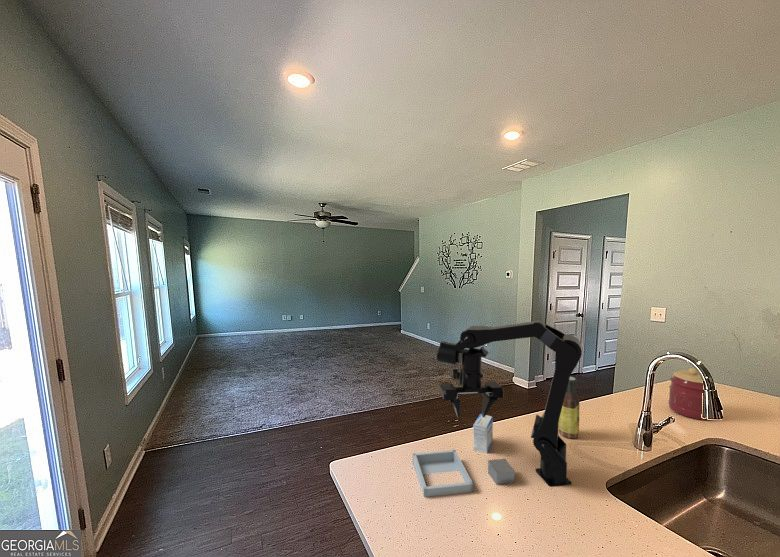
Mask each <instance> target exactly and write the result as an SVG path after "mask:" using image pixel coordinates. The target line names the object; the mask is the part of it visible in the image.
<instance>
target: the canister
mask: <svg viewBox="0 0 780 557" xmlns="http://www.w3.org/2000/svg"><path fill="white" fill-rule="evenodd" d="M696 369H697V368H695V367H690V368H689V369H681V370H680V369H679V370H678V371H674V372H673V373H672V376H670V377H669V380H670V381H671V384H670V385H669V387H668V388H669V398H668V407H669V409H671V411H673V412H675V413H677V414H680V415H682V416H684V417H688V418H693V419H697V420H703V421H706V420H705V419H702V418H701V414H702V393H703V383H702V380H701V377H700V374H699V373H700V372H699V371H698V370H697V371H698V372H699V373H698V372H697V371H696ZM713 381H714V379H713ZM716 390H717V386H716Z"/></svg>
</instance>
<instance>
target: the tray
mask: <svg viewBox="0 0 780 557" xmlns="http://www.w3.org/2000/svg"><path fill="white" fill-rule="evenodd" d="M412 465H413V469H414V471H415V474H416V477H417V481H418V483H419V486H420V489H421V492H422V496H423V497H424V498H428V497H437V496H445V495H447V496H448V495H455V494H457V495H458V494H464V493H473V492H474V488H475V486H474V484H475V483H474V482H473V480H472V478H471V476H470V475H469V473H468V471H467V469H466V468H465V465H464V463H463V462H462V460H461V458H460V456H459V455H458V453H457V450H456V449H452V450H451V449H450V450H448V449H447V450H440V451H439V450H438V451H437V450H436V451H428V452H427V451H426V452H417V453H416V452H415V453H412ZM451 472H452V473H453V472H459V474H460V475H461V478H462V479H463V482H459V483H449V484H440V485H429V486H427V485H426V482H425V478H424V475H432V474H440V473H451Z"/></svg>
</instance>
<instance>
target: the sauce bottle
mask: <svg viewBox="0 0 780 557" xmlns="http://www.w3.org/2000/svg"><path fill="white" fill-rule="evenodd" d="M576 383H577V379H576V378H575V377H573V376H570V379H569V383H568V386H567V390H566V394H565V398H564V402H563V406H562V410H561V414H560V418H559V424H558V434H560V435H561V436H563V437H564V436H565V437H564V438H568V439H573V438H574V439H577V438H578V437H579V433H580V400H579V397H578V394H577V391H576Z"/></svg>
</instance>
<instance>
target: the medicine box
mask: <svg viewBox="0 0 780 557" xmlns="http://www.w3.org/2000/svg"><path fill="white" fill-rule="evenodd" d="M493 426H494V417H493V416H491V415H487V414H486V416H485V417H483V416H482V413H480V414H479V415H478V417H477V419H476V420H475V422H474V423H473V425H472V431H473V432H472V433H473V437H472V438H473V439H472V441H473V442H472V443H473V444H472V445H473V447H472V448H473V451H476V452H481V453H484V454H488V452H489V450H490V447H492V446H491V445H492V444H493V440H494V434H493V433H494V432H493V431H494V427H493Z"/></svg>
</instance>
